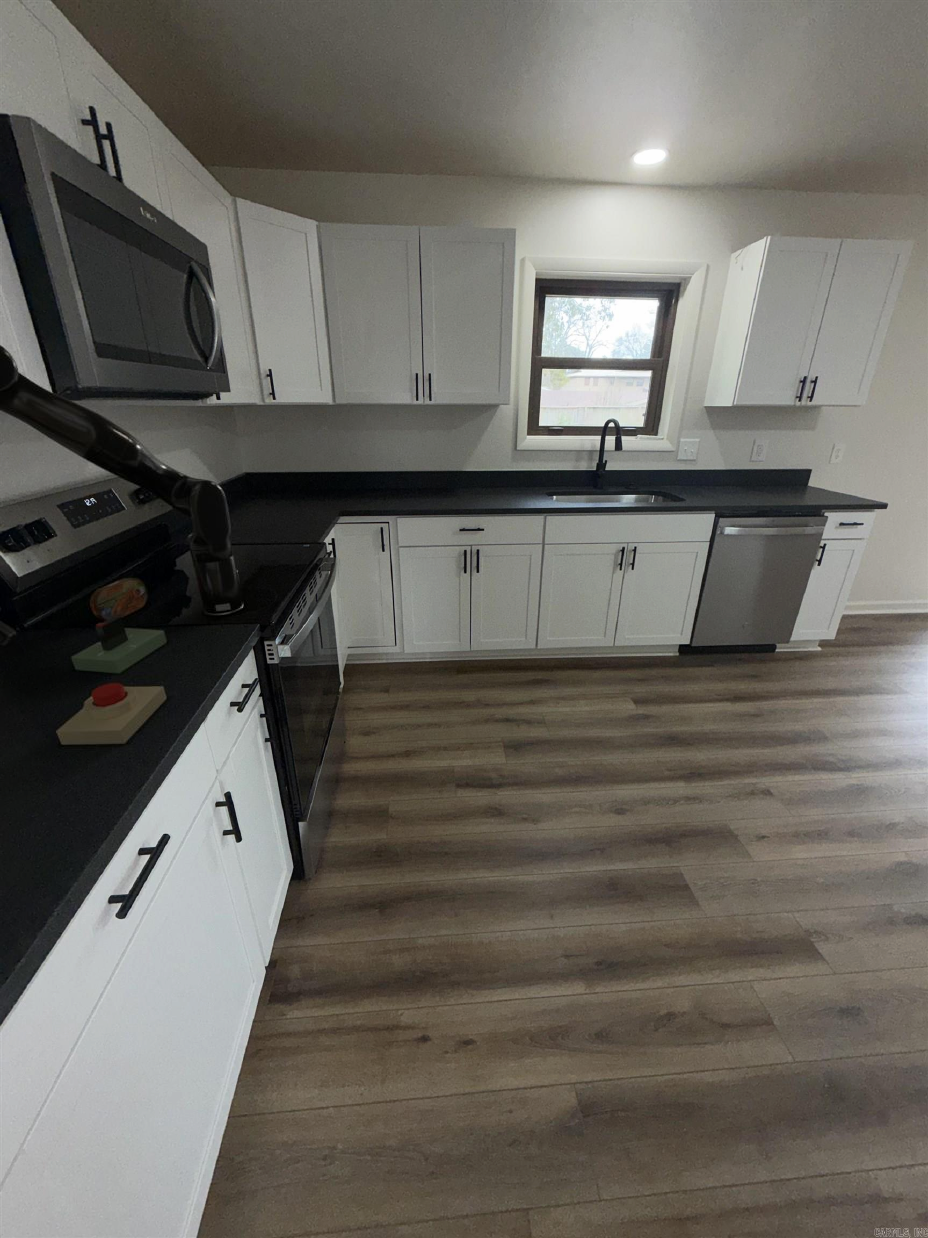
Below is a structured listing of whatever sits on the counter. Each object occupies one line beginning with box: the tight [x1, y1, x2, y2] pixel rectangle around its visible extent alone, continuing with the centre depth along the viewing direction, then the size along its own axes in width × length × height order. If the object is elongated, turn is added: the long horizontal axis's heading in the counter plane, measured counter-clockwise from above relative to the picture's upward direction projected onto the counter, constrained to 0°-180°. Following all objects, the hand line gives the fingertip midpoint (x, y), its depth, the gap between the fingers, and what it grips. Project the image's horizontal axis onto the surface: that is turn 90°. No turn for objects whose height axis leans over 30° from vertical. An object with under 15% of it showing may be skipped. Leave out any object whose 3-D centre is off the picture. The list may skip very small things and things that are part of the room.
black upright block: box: [94, 616, 128, 651], centre depth 103 cm, size 5×2×6 cm, turn 171°
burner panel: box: [70, 627, 168, 674], centre depth 106 cm, size 14×10×3 cm
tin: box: [89, 577, 149, 621], centre depth 125 cm, size 15×3×8 cm, turn 168°
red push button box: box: [55, 685, 168, 746], centre depth 84 cm, size 13×10×4 cm
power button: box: [91, 682, 126, 707], centre depth 83 cm, size 4×4×2 cm
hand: (11, 639), depth 78 cm, fingers closed
